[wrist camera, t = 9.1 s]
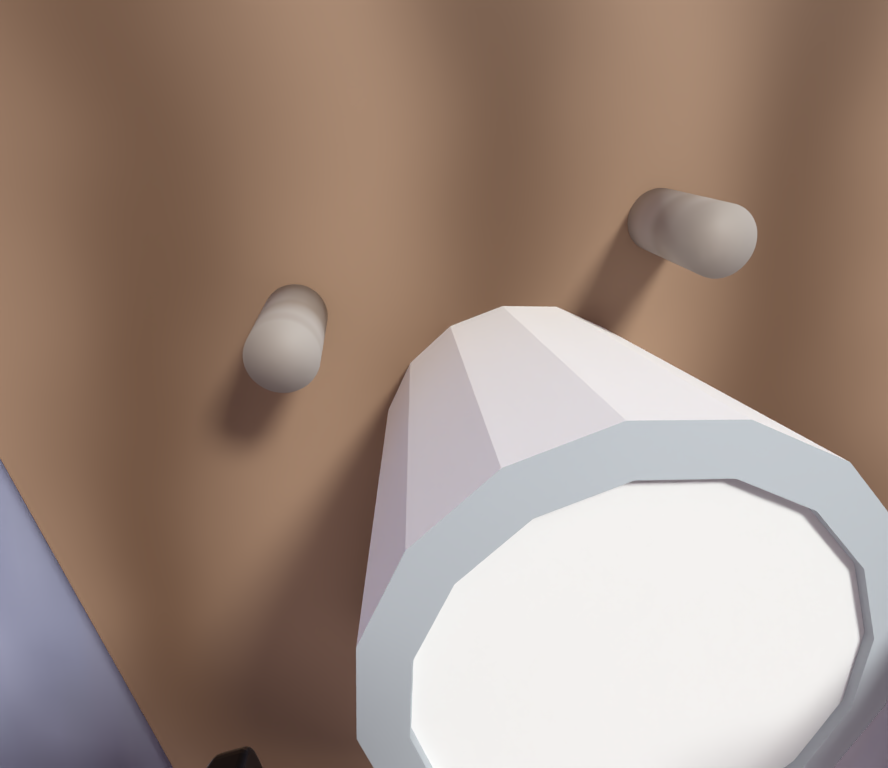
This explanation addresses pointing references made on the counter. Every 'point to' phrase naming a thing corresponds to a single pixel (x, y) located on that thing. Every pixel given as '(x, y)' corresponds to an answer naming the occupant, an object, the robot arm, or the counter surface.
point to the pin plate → (390, 282)
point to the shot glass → (610, 567)
